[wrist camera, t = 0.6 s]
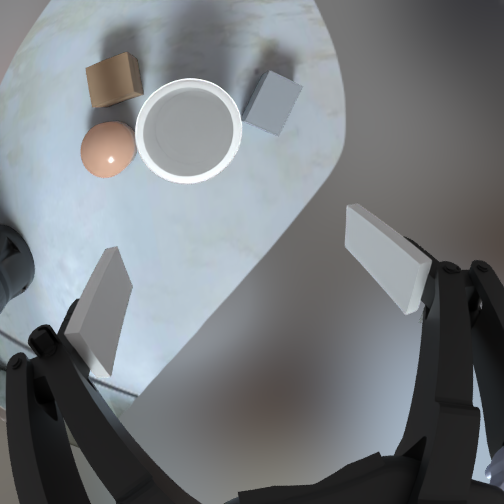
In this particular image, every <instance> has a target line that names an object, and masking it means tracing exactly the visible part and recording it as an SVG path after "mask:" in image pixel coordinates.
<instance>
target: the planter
mask: <svg viewBox="0 0 504 504" xmlns="http://www.w3.org/2000/svg"><path fill="white" fill-rule="evenodd" d="M0 419H2V420H4V421H5V422H6V371H4V370H0Z"/></svg>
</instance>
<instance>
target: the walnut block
mask: <svg viewBox="0 0 504 504" xmlns="http://www.w3.org/2000/svg"><path fill="white" fill-rule="evenodd" d="M86 75H87V81H88V87H89V93H90V98H91V103H92V107H109V106H112V105H114V104H117V103H120V102H123V101H125V100H128V99H131V98H134V97H137V96H140V95H144V94H143V88H142V83H141V78H140V72H139V67H138V61H137V59H136V58H135V57H134V56H132V55H131V54H130V53H128V52H124V53H122V54H119V55H116V56H114V57H111V58H108V59H106V60H103V61H101V62H99V63H96V64H94V65H92V66H89V67H87V68H86Z"/></svg>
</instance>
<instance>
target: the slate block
mask: <svg viewBox="0 0 504 504" xmlns="http://www.w3.org/2000/svg"><path fill="white" fill-rule="evenodd" d="M302 88H303V86H301V85H299V84H297V83H295V82H293V81H291V80H289V79H287V78H285V77H283V76H281V75H279V74H277V73H275V72H273V71H271V70H270V71H268V72H266V73H264V74H263V75H262V76H261V78H260V80H259V82H258V84H257V86H256V88H255V90H254V93H253V95H252V97H251V99H250V101H249V103H248V105H247V107H246V109H245V111H244V113H243V115H242V118H241V121H243V122H245V123H247V124H250V125H252V126H255V127H257V128H259V129H261V130H264V131H266V132H268V133H270V134H273V135H276V136H279V135H280V133H281V131H282V129H283V127H284V125H285V122H286V120H287V118H288V116H289V114H290V112H291V110H292V108H293V106H294V104H295V102H296V100H297V98H298V96H299V94H300V92H301V90H302Z"/></svg>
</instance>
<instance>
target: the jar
mask: <svg viewBox="0 0 504 504" xmlns="http://www.w3.org/2000/svg"><path fill="white" fill-rule="evenodd" d="M241 138H242V121H241V116H240V113H239V110H238V108H237V106H236V104H235V102H234V101H233V99H232V98H231V97H230V95H229V94H228V93H227V92H226V91H224V90H223V89H222V88H221V87H219V86H217V85H216V84H214V83H211V82H209V81H206V80H202V79H194V78H188V79H180V80H176V81H173V82H170V83H168V84H166V85H164V86H162V87H161V88H159V89H158V90H156V91H155V92H154V93H153V94H152V95H151V96H150V97H149V98H148V99H147V100H146V102H145V103H144V105H143V106H142V108H141V110H140V112H139V115H138V118H137V121H136V127H135V140H136V146H137V149H138V152H139V154H140V157H141V158H142V160H143V162H144V163H145V164H146V166H147V167H148V168H149V169H150V170H151V171H152V172H153V173H154V174H156V175H157V176H159V177H160V178H162V179H164V180H167V181H169V182H173V183H177V184H196V183H200V182H204V181H206V180H209V179H211V178H213V177H215V176H216V175H218V174H219V173H221V172H222V171H223V170H224V169H225V168H226V167H227V166H228V165H229V164H230V163H231V161H232V160H233V158H234V157H235V155H236V153H237V151H238V149H239V146H240V142H241Z"/></svg>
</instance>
